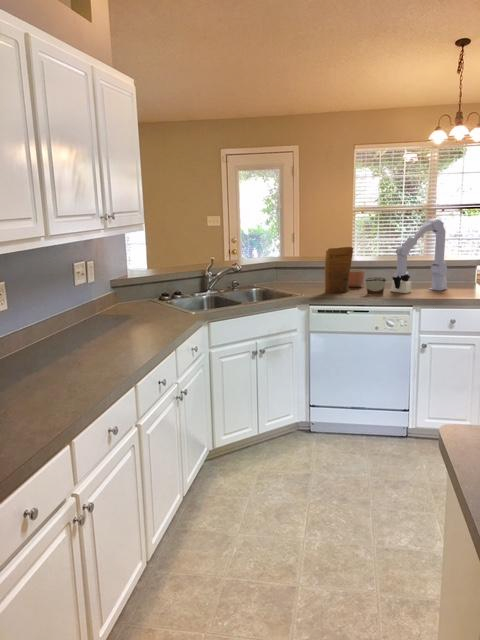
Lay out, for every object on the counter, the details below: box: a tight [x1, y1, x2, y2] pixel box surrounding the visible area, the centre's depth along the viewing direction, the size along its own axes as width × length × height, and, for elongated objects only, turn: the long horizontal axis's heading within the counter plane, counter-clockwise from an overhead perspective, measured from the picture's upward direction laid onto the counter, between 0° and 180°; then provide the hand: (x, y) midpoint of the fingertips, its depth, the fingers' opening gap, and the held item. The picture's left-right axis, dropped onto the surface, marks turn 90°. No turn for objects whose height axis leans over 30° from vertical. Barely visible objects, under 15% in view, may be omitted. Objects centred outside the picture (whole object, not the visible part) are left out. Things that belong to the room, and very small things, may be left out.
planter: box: [348, 268, 366, 289], centre depth 342 cm, size 12×12×11 cm
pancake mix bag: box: [324, 246, 354, 294], centre depth 320 cm, size 7×19×28 cm, turn 104°
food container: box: [364, 276, 387, 296], centre depth 314 cm, size 12×6×10 cm, turn 84°
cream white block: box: [390, 280, 412, 294], centre depth 321 cm, size 6×10×6 cm, turn 42°
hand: (400, 287), depth 321 cm, fingers open, 7 cm apart
